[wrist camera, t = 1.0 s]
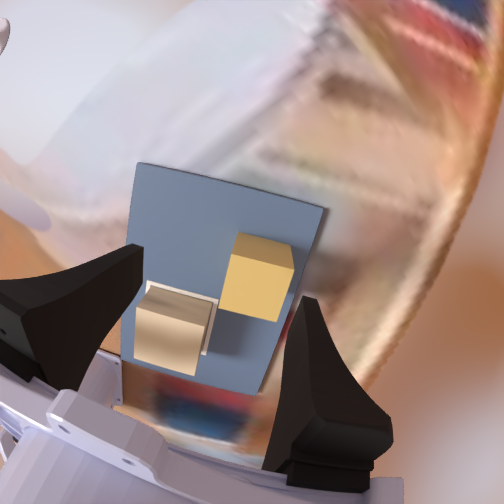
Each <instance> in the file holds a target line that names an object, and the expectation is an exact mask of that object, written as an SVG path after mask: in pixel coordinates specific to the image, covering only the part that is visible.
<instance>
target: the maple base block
mask: <svg viewBox="0 0 504 504" xmlns="http://www.w3.org/2000/svg"><path fill="white" fill-rule="evenodd" d="M212 303H213V302H209V301H205V300H202V299H198V298H194V297H190V296H187V295H183V294H179V293H176V292H172V291H169V290H165V289H162V288H158V287H155V286H151V287H150V288H149V290H148V291H147V293H146V294H145V295H144V297H143V298H142V300H141V301H140V303H139V304H138V305H137V307H136V320H135V339H134V358H135V359H138V360H141V361H144V362H147V363H151V364H154V365H157V366H160V367H164V368H167V369H170V370H174V371H177V372H181V373H185V374H188V375H192V376H195V372H196V369H197V365H198V362H199V359H200V355H201V352H202V348H203V343H204V339H205V334H206V330H207V325H208V320H209V316H210V311H211V307H212Z"/></svg>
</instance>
